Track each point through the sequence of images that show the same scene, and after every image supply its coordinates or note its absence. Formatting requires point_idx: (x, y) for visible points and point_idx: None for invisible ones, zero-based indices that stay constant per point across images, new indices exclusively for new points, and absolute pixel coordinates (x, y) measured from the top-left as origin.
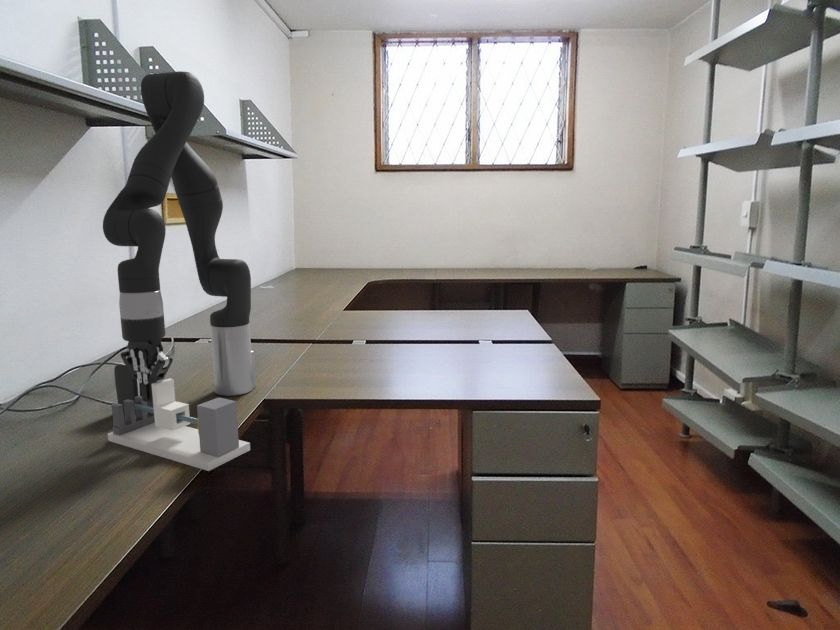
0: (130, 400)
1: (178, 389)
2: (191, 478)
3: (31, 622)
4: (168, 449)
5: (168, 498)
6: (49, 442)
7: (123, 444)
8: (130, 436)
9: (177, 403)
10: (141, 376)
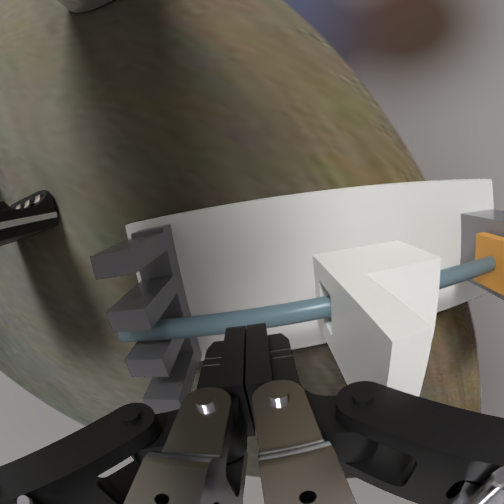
0: (146, 363)
1: (3, 79)
2: (471, 318)
3: None
4: None
5: (472, 362)
6: (102, 401)
7: None
8: None
9: (399, 284)
10: (245, 475)
